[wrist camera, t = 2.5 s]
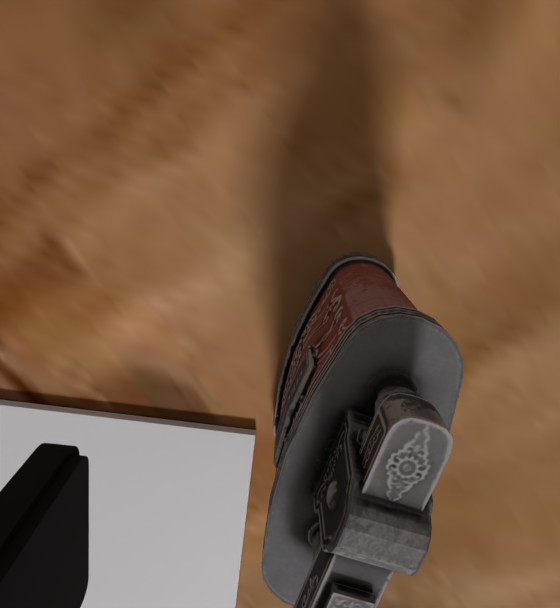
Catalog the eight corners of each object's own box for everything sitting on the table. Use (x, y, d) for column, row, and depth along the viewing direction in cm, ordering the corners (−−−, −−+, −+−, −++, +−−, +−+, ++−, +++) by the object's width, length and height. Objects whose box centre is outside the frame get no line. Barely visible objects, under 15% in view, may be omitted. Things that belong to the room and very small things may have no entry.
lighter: (324, 239, 17) (362, 336, 8) (415, 269, 17) (563, 399, 8) (257, 432, 19) (220, 697, 10) (338, 456, 20) (379, 739, 10)
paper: (256, 430, 19) (255, 435, 19) (231, 642, 22) (230, 650, 22) (-123, 384, 19) (-132, 389, 19) (-96, 603, 22) (-103, 611, 22)
